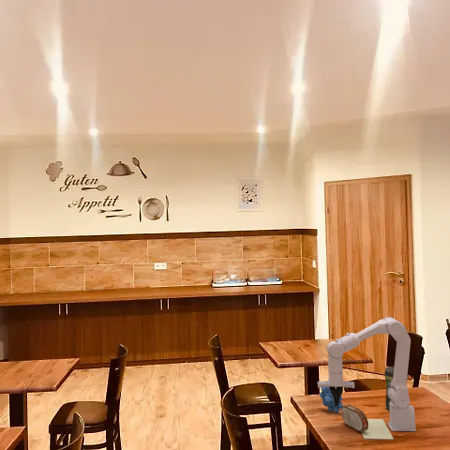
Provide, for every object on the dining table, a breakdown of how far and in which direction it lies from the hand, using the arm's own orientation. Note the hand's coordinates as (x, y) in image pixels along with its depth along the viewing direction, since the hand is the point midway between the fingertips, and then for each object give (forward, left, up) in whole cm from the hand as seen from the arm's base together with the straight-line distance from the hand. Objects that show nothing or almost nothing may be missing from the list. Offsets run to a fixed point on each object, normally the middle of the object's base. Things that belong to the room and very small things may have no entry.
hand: (336, 405), depth 200 cm
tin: (-7, 0, -9) cm, 12 cm away
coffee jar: (-29, -23, -10) cm, 38 cm away
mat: (-14, 0, -9) cm, 17 cm away
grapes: (+1, -18, -10) cm, 20 cm away
